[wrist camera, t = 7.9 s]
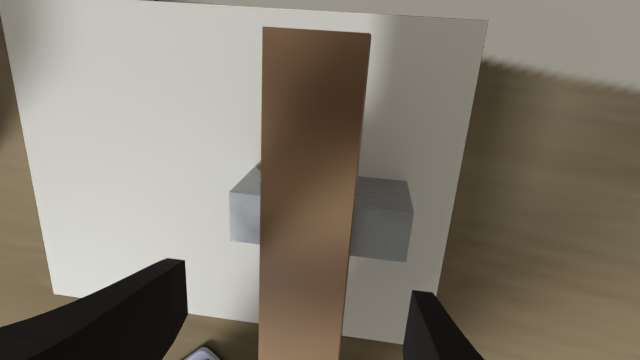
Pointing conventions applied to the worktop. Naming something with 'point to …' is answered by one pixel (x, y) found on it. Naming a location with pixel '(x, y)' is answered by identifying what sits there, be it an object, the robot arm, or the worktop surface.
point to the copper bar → (308, 186)
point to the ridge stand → (229, 146)
